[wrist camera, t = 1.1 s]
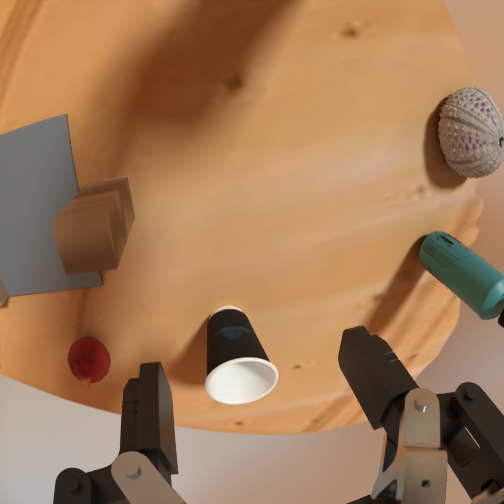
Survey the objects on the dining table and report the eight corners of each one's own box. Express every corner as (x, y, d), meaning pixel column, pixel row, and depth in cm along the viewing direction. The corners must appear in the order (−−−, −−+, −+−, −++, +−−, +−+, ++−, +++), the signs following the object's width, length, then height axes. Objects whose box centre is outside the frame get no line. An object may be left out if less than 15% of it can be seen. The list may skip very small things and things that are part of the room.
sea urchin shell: (424, 86, 31) (470, 91, 24) (482, 84, 32) (522, 92, 25) (432, 180, 37) (472, 200, 30) (485, 164, 38) (522, 180, 31)
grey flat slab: (-44, 154, 22) (-56, 159, 20) (67, 113, 25) (58, 115, 23) (-1, 295, 31) (-8, 306, 29) (103, 283, 34) (99, 295, 32)
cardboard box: (88, 182, 29) (49, 222, 19) (128, 175, 29) (103, 213, 20) (96, 222, 31) (66, 275, 21) (135, 216, 32) (117, 268, 22)
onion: (79, 353, 38) (68, 396, 31) (70, 323, 36) (56, 366, 29) (115, 356, 40) (110, 400, 33) (110, 326, 37) (101, 371, 30)
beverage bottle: (413, 269, 44) (497, 352, 27) (409, 235, 41) (508, 317, 23) (442, 251, 44) (527, 323, 27) (440, 217, 40) (538, 286, 23)
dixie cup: (233, 284, 38) (252, 347, 29) (267, 320, 42) (291, 381, 32) (184, 318, 39) (189, 384, 29) (220, 349, 43) (234, 412, 33)
